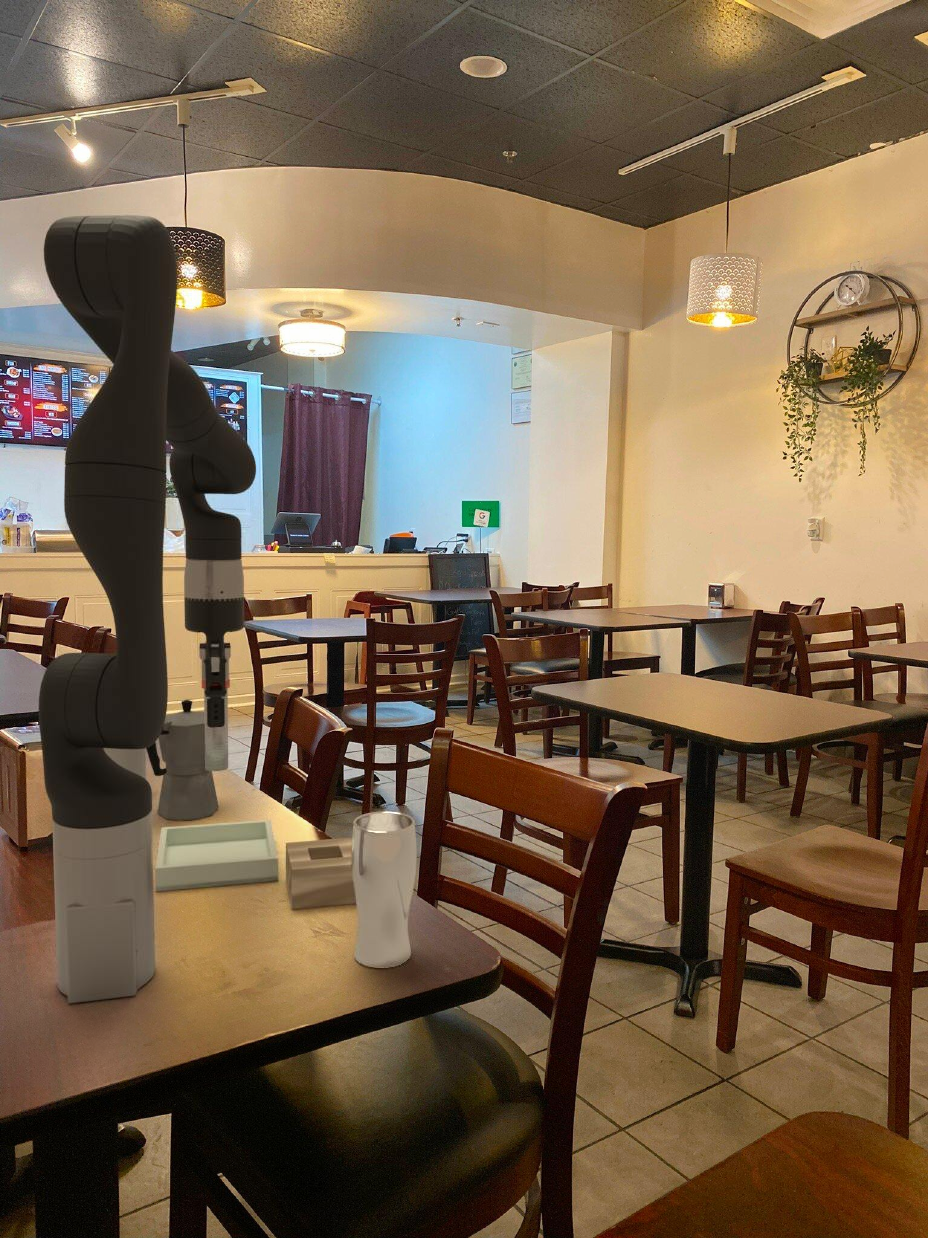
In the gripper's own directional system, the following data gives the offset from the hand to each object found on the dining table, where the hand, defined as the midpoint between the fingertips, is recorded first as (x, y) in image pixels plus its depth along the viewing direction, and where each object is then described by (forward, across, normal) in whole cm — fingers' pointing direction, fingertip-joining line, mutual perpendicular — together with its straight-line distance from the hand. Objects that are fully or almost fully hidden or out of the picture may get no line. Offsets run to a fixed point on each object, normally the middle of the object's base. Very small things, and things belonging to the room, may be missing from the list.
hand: (215, 722), depth 118 cm
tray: (+19, 0, 0) cm, 19 cm away
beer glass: (+20, -30, -17) cm, 40 cm away
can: (+20, +33, +15) cm, 41 cm away
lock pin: (+6, 0, 0) cm, 6 cm away
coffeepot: (+20, +22, +5) cm, 30 cm away
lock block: (+19, -12, -13) cm, 26 cm away
